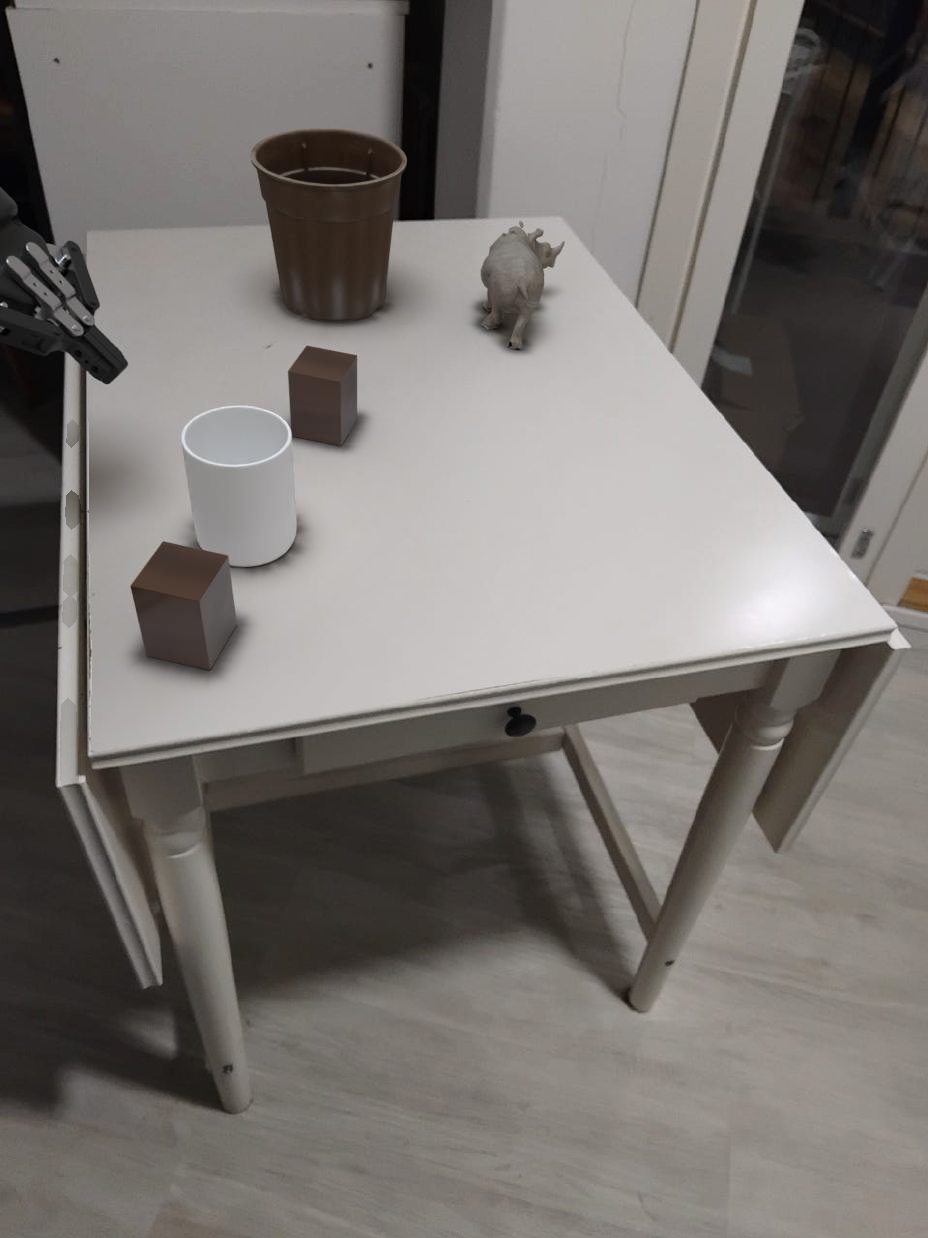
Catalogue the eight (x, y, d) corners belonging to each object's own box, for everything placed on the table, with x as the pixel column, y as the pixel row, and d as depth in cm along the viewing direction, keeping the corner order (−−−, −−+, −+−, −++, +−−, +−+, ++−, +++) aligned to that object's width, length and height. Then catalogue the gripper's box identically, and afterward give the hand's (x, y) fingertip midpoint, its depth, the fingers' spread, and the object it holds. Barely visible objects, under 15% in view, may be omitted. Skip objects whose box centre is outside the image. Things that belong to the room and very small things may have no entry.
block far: (341, 446, 90) (340, 381, 85) (291, 436, 90) (287, 370, 85) (357, 418, 93) (357, 354, 88) (309, 409, 94) (306, 345, 89)
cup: (188, 567, 76) (171, 463, 69) (212, 478, 85) (199, 377, 78) (291, 571, 77) (285, 469, 70) (306, 482, 85) (301, 383, 78)
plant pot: (284, 341, 103) (275, 189, 92) (245, 276, 113) (232, 132, 102) (422, 322, 108) (430, 176, 97) (373, 261, 119) (375, 123, 107)
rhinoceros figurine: (454, 327, 103) (495, 187, 100) (467, 346, 116) (504, 222, 114) (522, 348, 102) (565, 207, 100) (528, 364, 116) (566, 240, 113)
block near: (210, 670, 69) (198, 601, 64) (145, 655, 69) (129, 585, 64) (237, 624, 72) (228, 555, 67) (175, 610, 73) (162, 540, 68)
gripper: (-113, 188, 60) (102, 393, 68) (5, 126, 70) (182, 312, 77) (-157, 255, 65) (50, 441, 72) (-40, 188, 74) (132, 359, 81)
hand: (118, 374), depth 74 cm, fingers closed
